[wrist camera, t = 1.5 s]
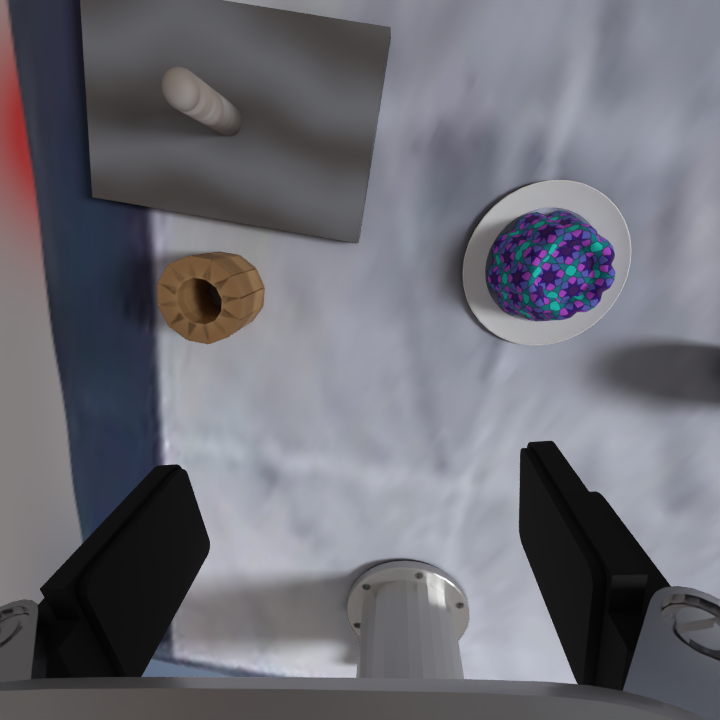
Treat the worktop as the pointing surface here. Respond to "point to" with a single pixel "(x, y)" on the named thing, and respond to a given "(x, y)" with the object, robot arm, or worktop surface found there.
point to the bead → (194, 304)
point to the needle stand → (233, 111)
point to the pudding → (547, 263)
